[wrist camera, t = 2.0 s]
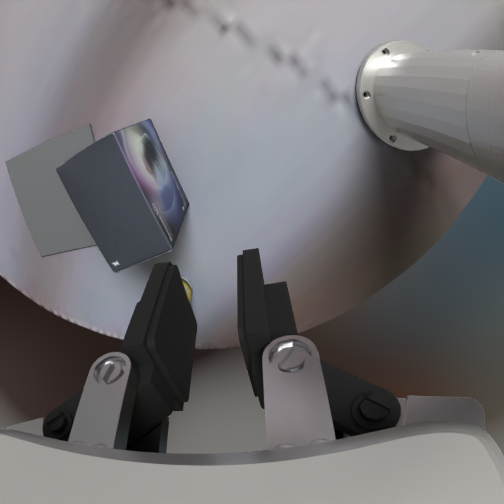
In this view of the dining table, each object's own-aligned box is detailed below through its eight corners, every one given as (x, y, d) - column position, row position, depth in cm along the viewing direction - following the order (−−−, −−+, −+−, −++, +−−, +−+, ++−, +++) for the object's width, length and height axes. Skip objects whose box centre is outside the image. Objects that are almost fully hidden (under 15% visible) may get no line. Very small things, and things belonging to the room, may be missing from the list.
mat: (90, 124, 27) (89, 124, 27) (124, 238, 34) (124, 239, 34) (6, 161, 28) (5, 161, 27) (42, 255, 35) (40, 256, 34)
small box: (194, 203, 32) (177, 253, 23) (143, 224, 33) (113, 277, 24) (153, 115, 27) (114, 129, 18) (101, 143, 28) (50, 170, 19)
